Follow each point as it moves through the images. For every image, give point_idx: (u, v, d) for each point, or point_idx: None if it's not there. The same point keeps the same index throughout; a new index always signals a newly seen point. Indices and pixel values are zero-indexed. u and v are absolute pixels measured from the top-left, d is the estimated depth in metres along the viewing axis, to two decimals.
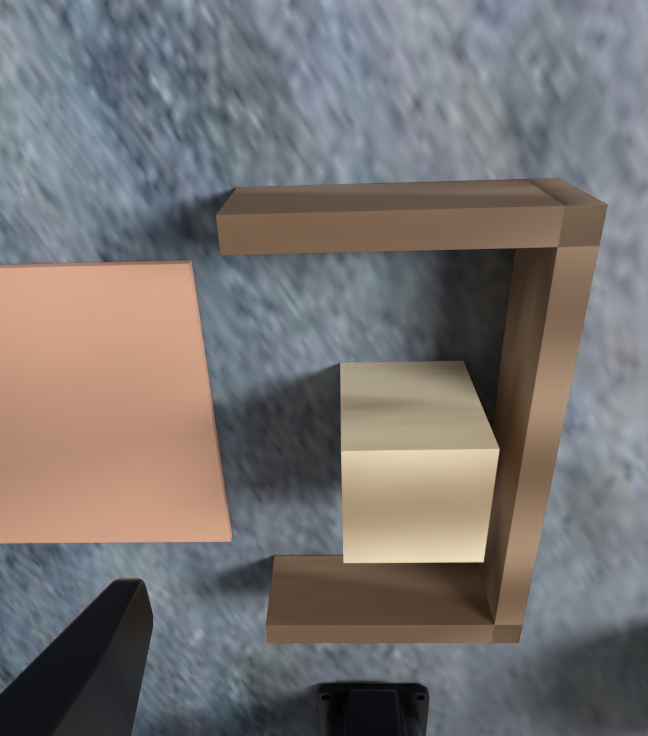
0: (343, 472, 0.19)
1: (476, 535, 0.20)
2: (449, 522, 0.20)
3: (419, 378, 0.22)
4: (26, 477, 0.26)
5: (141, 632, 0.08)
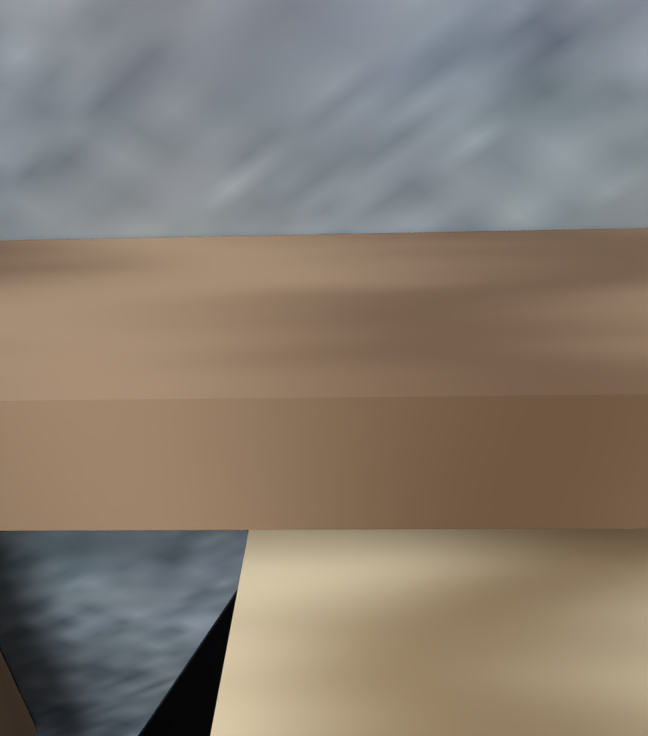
0: None
1: None
2: None
3: None
4: None
5: None
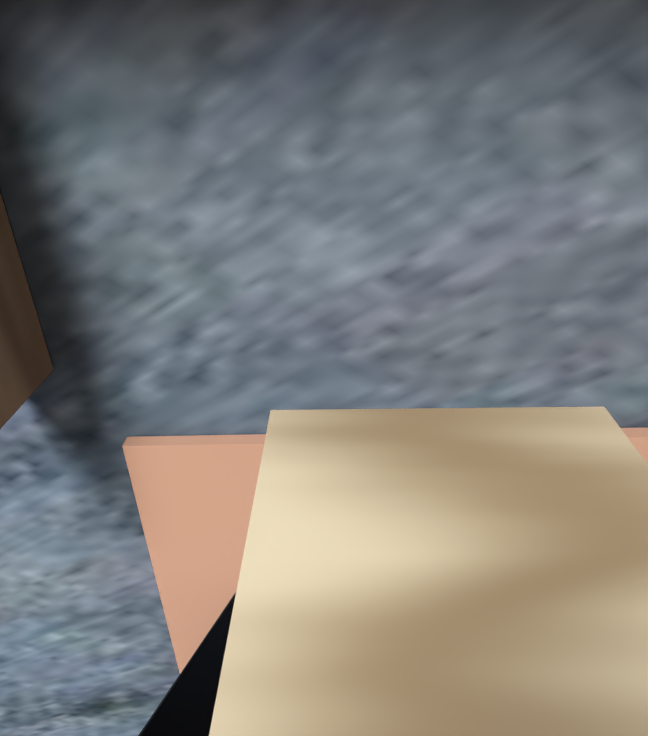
0: None
1: None
2: None
3: None
4: None
5: None
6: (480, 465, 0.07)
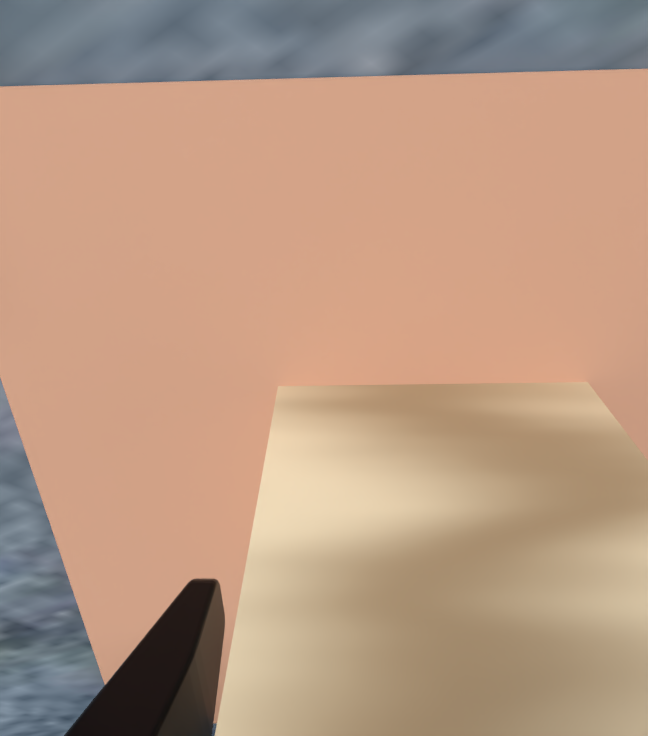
0: None
1: None
2: None
3: None
4: None
5: (217, 632, 0.08)
6: (471, 432, 0.08)
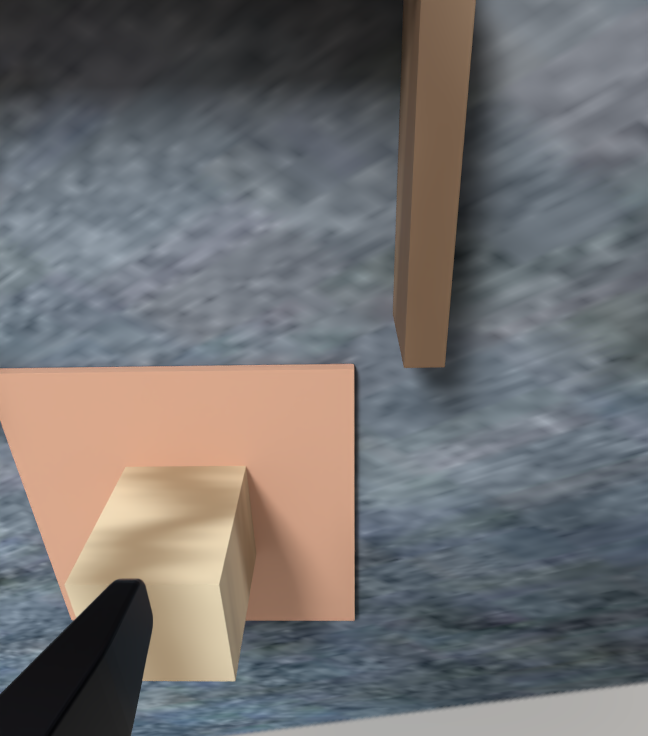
0: None
1: (179, 593, 0.18)
2: (166, 612, 0.19)
3: None
4: (263, 545, 0.26)
5: (141, 632, 0.08)
6: (186, 488, 0.22)
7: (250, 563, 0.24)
